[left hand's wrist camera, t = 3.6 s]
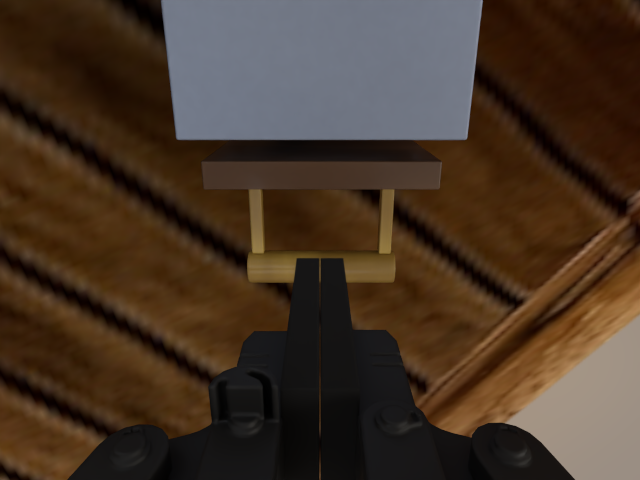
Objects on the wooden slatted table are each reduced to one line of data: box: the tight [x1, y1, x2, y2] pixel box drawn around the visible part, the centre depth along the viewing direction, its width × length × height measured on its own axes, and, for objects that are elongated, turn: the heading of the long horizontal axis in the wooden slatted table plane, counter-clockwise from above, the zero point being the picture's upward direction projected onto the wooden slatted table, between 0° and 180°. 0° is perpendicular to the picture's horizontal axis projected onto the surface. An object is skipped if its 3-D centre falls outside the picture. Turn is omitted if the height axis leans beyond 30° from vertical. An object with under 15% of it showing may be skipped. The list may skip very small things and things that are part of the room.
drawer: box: [201, 140, 442, 282], centre depth 20 cm, size 21×10×7 cm, turn 0°
